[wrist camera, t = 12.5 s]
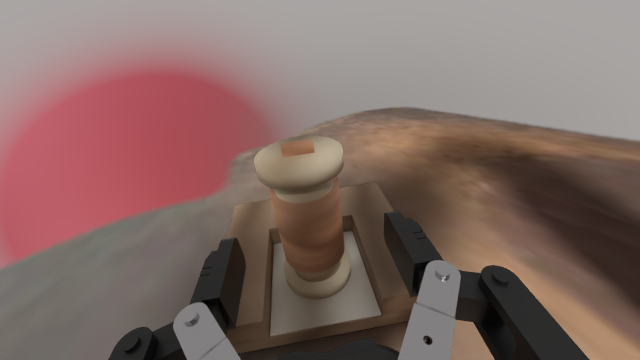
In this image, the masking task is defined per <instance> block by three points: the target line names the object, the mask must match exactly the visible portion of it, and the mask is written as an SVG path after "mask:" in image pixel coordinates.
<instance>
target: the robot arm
mask: <svg viewBox="0 0 640 360" xmlns="http://www.w3.org/2000/svg"><path fill="white" fill-rule="evenodd" d="M384 239H385V243H386V246H387V248H388V250H389V252H390V254H391V256H392V258H393V260H394V262H395V265H396V267H397V269H398V271H399V273H400V275H401V277H402V279H403V282H404V284H405V286H406V288H407V290H408V292H409V294H410V296H411V297H416V296H418V297H417V300H416V302H415V303H414V306H413V309H412V312H411V316H410V319H409V323H408V326H407V330H406V333H405V337H404V340H403V343H402V347H401V350H400V353H399V352H397V351H396V350H394V349H391V348H389V347H386V346H382V345H376V343H375V339H374V337H371V338H366V339H361V340H355V341H350V342H348V343H346V344H344V345H342V346H340V347H338V348H336V349H334V350H332V351H330V352H328V353H321V352H311V351H297V352H291V353H286V354H281V355H278V360H450V356H451V349H452V342H453V335H454V328H455V320H463V321H469V322H473V323H474V324H475V326H476V328H477V330H478V331H479V333H480V335H481V336H482V338H483V340H484V342H485V343H486V345H487V347H488V348H489V350H490V352H491V354H492V355H493V357H494V359H495V360H589V359H588V357H587V356H586V355H585V354H584V353H583V352H582V351H581V349H580V348H579V347H578V346H577V345H576V344H575V343H574V341H573V340H572V339H571V338H570V337H569V336H568V334H567V333H566V332H565V331H564V330H563V329H562V328H561V326H560V325H559V324H558V323H557V322H556V321H555V319H554V318H553V317H552V316H551V315H550V314H549V313H548V311H547V310H546V309H545V308H544V307H543V306H542V304H541V303H540V302H539V301H538V300H537V299H536V298H535V296H534V295H533V294H532V293H531V292H530V291H529V289H528V288H527V287H526V286H525V285H524V284H523V283H522V281H521V280H520V279H519V278H518V277H517V276H516V275H515V274H514V273H513V272H511V271H510V270H508V269H506V268H504V267H501V266H495V265H490V266H486V267H484V268H483V269H482V271H481V273H475V272H465V271H460V270H458V269H457V268H456V267H455V266H454V265H452V264H451V263H448V262H446V261H444V260H443V259H442V258H441V256H440V255H439V253H438V252H437V250H436V249H435V247H434V246H433V245H432V243H431V242H430V240H429V239H428V238H427V236H426V234H425V233H424V232H423V230H422V229H421V227H420V226H419V224H418V223H416V222H415V221H413V220H412V219H411V218H408V219H404V218H403V216H402V214H401V213H400V212H399V211H392V212H386V213H384ZM245 270H246V261H245V257H244V254H243V251H242V249H241V246H240V244H239V241H238V239H237V238H236V237H235V238H229V239H223V240H221V242H220V245H219V248H218V250H217V251H212V252H211V254H210V255H209V256H208V257H207V258H206V260H205V263H204V266H203V270H202V271H201V274H200V277H199V280H198V282H197V285H196V288H195V291H194V294H193V296H192V299H191V302H190V305H189V306H187V307H185V308H184V309H183V310H182V311H181V312H180V313H179V314H178V315H177V317H176V319H175V321H174V322H172V323H170V324H168V325H166V326H164V327H162V328H160V329H157V330H155V331H153V332H152V331H151V330H150V329H149V328H147V327H140V328H136V329H134V330H132V331H130V332H129V333H127V334H126V335H125V336H124V337H123V338H122V339H121V340H120V341H119V342H118V343H117V344H116V346H115V348H114V349H113V351H112V353H111V355H110V357H109V359H108V360H241V359H240V357H239V356H238V354H237V353H236V351H235V349H234V348H233V346H232V345H231V343H230V341H229V340H228V338H227V337H226V334H227V330H230V329H235V328H236V322H237V317H238V311H239V305H240V299H241V293H242V288H243V282H244V276H245Z"/></svg>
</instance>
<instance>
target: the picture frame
mask: <svg viewBox="0 0 640 360" xmlns="http://www.w3.org/2000/svg"><path fill="white" fill-rule="evenodd" d="M340 200H341V211H342V223H343V235H344V246H345V248H346V249H347V251H348V252H349V255H350V260H351V275H350V278H349V281H348V282H347V284H346V285H345V287H344V288H343V289H342V290H340V291H339V292H338V293H336V294H335V295H333V296H330V297H328V298H324V299H307V298H303V297H301V296H299V295H297V294H296V293H294V292H293V291H292V290H291V289H290V287H289V286H288V283H287V281H286V277H285V273H284V261H285V258H286V257H285V253H284V250H283V246H282V242H281V238H280V234H279V230H278V226H277V222H276V219H275V215H274V211H273V207H272V203H271V199H270V200H264V201H258V202H252V203H246V204H240V205H235V209H234V212H233V216H232V219H231V223H230V226H229V230H228V233H227V237H226V239H229V238H235V237H236V238H237V239H238V241H239V244H240V246H241V249H242V251H243V254H244V257H245V261H246V270H245V276H244V282H243V288H242V293H241V299H240V305H239V311H238V317H237V322H236V328H235V329H230V330H227V334H226V337H227V338H228V340H229V341H230V343H231V345H232V346H233V348H234V349H235V351H236V353H237V354H240V353H245V352H250V351H255V350H260V349H265V348H271V347H276V346H281V345H286V344H291V343H296V342H302V341H307V340H312V339H317V338H322V337H328V336H333V335H338V334H343V333H348V332H353V331H359V330H364V329H369V328H374V327H379V326H384V325H390V324H395V323H400V322H405V321H409V319H410V316H411V312H412V309H413V306H414V303H415V302H416V300H417V297H418V296H416V297H411V296H410V294H409V292H408V290H407V288H406V286H405V284H404V282H403V279H402V277H401V275H400V273H399V271H398V269H397V267H396V265H395V262H394V260H393V258H392V256H391V254H390V252H389V250H388V248H387V246H386V243H385V239H384V213H386V212H392V211H394V210H393V209H392V207H391V205H390V204H389V202H388V201H387V199H386V197H385V196H384V194H383V192H382V191H381V189H380V188H379V186H378V184H377V183H376V182H374V183H367V184H361V185H355V186H349V187H343V188H340Z"/></svg>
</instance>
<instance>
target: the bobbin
mask: <svg viewBox="0 0 640 360" xmlns="http://www.w3.org/2000/svg"><path fill="white" fill-rule="evenodd" d="M254 164H255V168H256V171H257V175H258V179H259V180H260V182H261V183H263V184H264V185H266V186H268V187H270V189H269V195H270V199H271V203H272V207H273V211H274V215H275V219H276V222H277V226H278V230H279V234H280V238H281V242H282V246H283V250H284V253H285V257H286V258H285V261H284V273H285V277H286V281H287V283H288V286H289V287H290V289H291V290H292V291H293V292H294V293H296V294H297V295H299V296H301V297H303V298H307V299H324V298H328V297H330V296H333V295H335V294H336V293H338V292H339V291H340V290H342V289H343V288H344V287H345V285H346V284H347V282H348V281H349V278H350V275H351V260H350V255H349V252H348V251H347V249H346V248H345V246H344V235H343V223H342V211H341V200H340V188H339V180H338V178H337V177H336V176H337V175H338V174H339V173H340V172H341V170H342V168H343V165H344V162H343V148H342V145H341V144H340V143H339V142H338V141H336V140H334V139H331V138H328V137H323V136H300V137H293V138H288V139H284V140H281V141H278V142H275V143H273V144H271V145H268V146H267V147H265V148H263V149H262V150H261V151H259V152H258V154H257V155H256V156H255V158H254Z"/></svg>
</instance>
